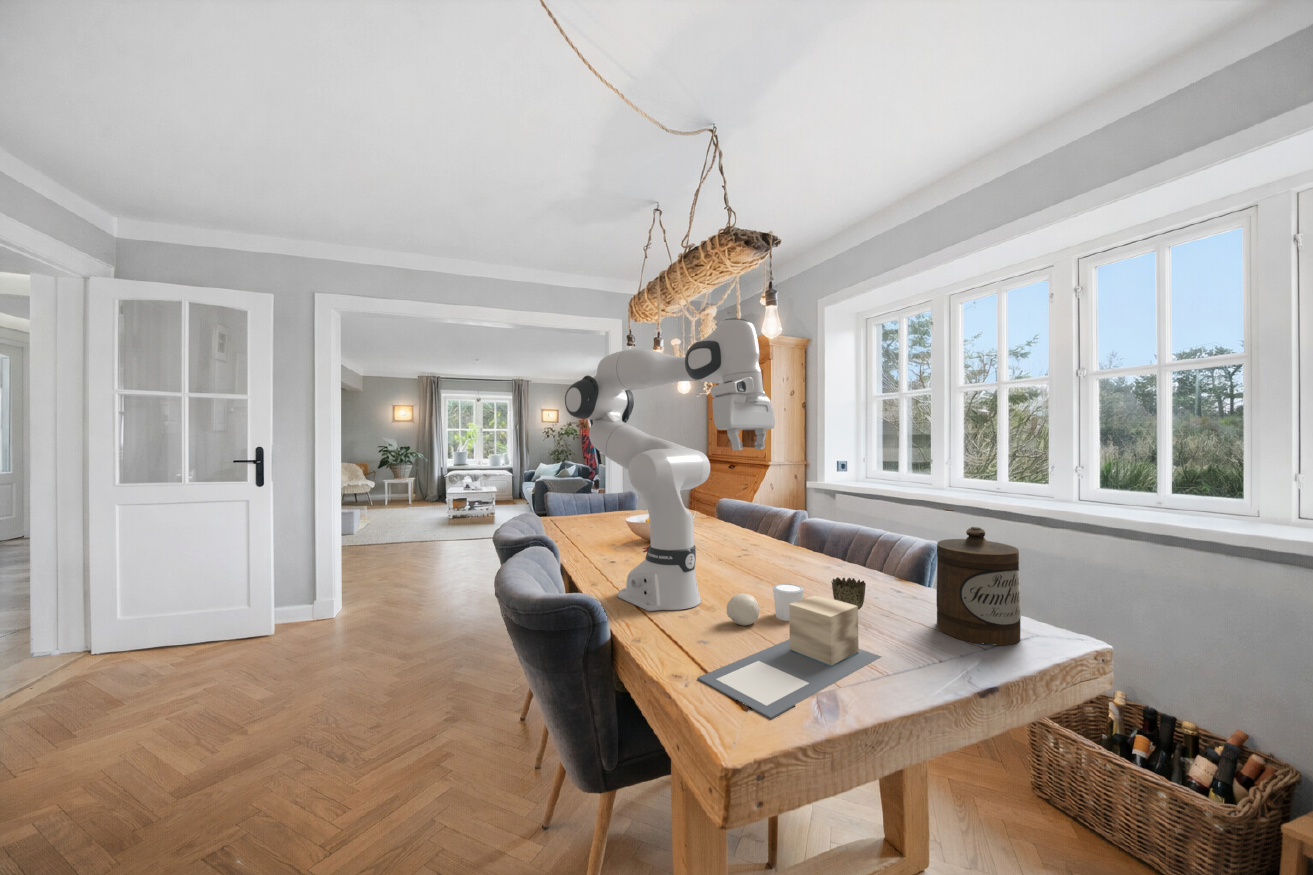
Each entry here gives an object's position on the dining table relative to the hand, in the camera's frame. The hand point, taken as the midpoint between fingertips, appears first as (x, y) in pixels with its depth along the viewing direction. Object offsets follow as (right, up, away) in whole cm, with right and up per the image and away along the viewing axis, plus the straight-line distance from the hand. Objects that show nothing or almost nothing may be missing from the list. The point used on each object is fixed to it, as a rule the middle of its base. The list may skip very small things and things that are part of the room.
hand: (749, 449), depth 112 cm
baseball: (-2, -39, -1) cm, 39 cm away
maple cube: (+11, -38, -16) cm, 43 cm away
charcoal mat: (+4, -39, -22) cm, 45 cm away
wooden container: (+47, -38, -7) cm, 61 cm away
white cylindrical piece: (+10, -39, +3) cm, 40 cm away
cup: (+24, -39, +3) cm, 45 cm away
